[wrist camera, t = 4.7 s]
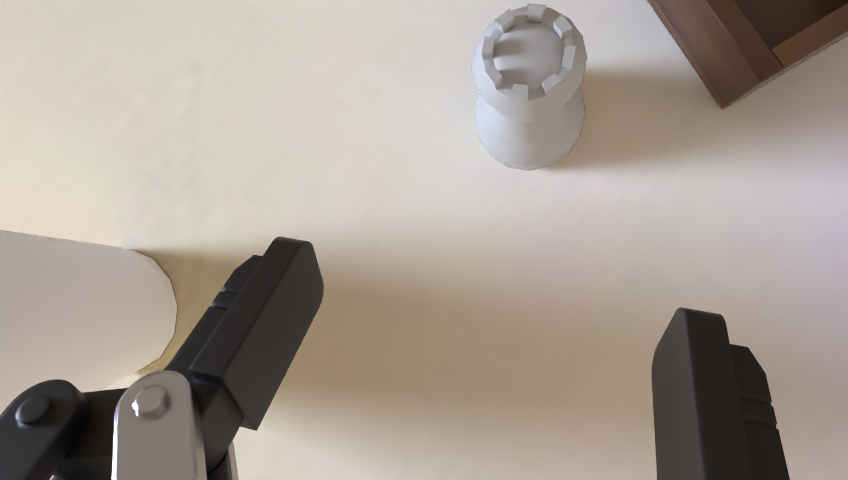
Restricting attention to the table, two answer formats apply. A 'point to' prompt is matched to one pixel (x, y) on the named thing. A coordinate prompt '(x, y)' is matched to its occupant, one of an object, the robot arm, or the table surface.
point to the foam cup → (78, 313)
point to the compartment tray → (750, 38)
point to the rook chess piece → (529, 87)
